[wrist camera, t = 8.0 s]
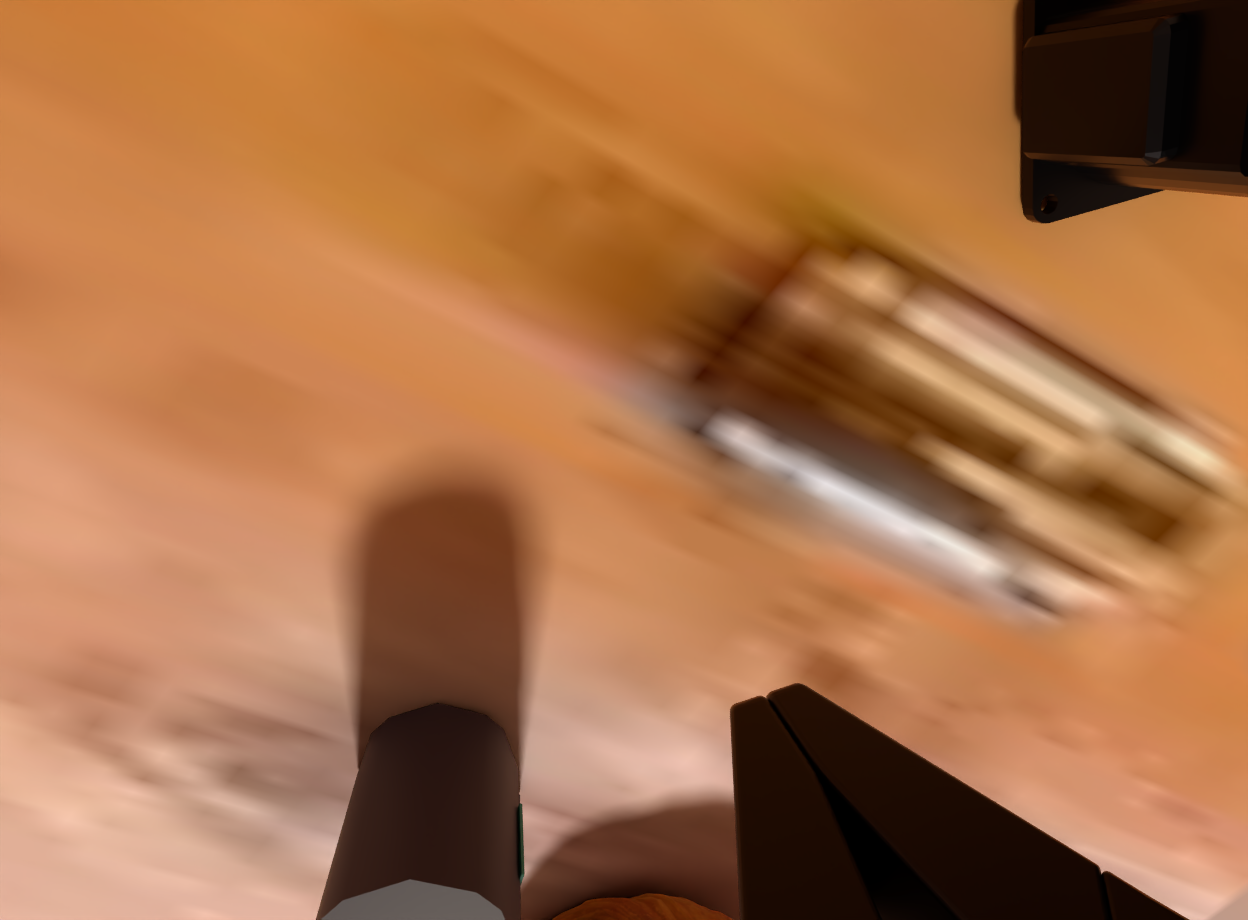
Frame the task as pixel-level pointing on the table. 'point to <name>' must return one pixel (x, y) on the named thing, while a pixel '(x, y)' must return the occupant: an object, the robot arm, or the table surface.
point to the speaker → (431, 824)
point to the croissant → (641, 909)
